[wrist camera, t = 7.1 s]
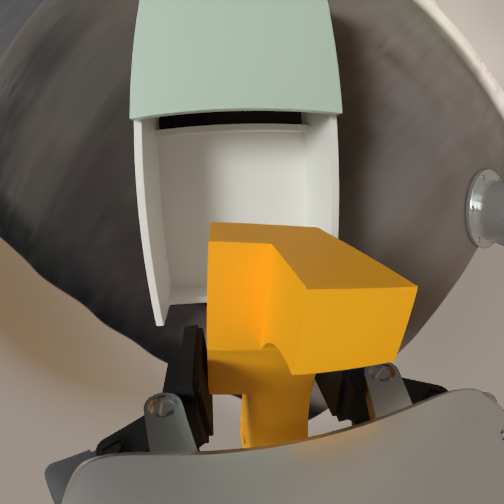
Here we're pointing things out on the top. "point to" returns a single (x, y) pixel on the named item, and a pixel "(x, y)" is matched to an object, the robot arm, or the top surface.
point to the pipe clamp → (293, 319)
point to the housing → (226, 191)
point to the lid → (233, 57)
